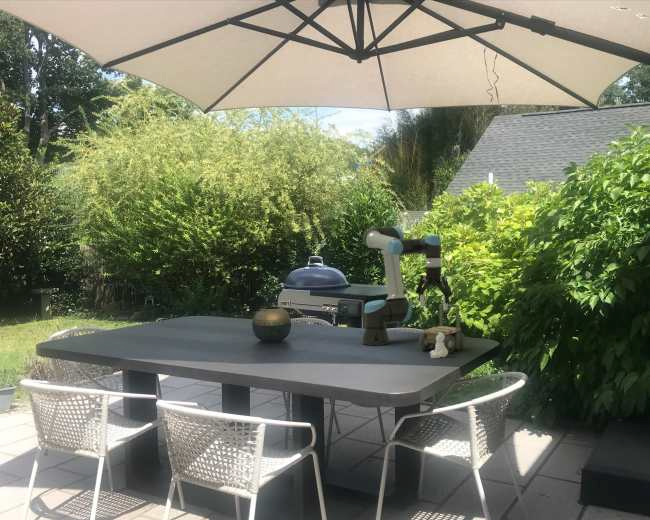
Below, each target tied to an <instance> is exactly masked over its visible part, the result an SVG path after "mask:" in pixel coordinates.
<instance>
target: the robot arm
mask: <svg viewBox="0 0 650 520" xmlns="http://www.w3.org/2000/svg"><path fill="white" fill-rule="evenodd" d="M362 241H363V244H364V245H365V246H367V247H368V248H371V249H380V252H381V254H383V262H384V270H385V279H386V288H387V297H386V299H377V300H372V301H368V302H366V303H365V305H364V332H363V337H362V341H361V342H362V343H363V344H362V345H364V344H367V345H366V346H372V345H377V346H386V345H389V344H390V343H391V340H390V336H389V332H388V330H387V324H395V323H404V322H408V321H409V320H410V319H411V317H412V312H413V307H412V303H411V302H410V301H409V300H408V299H407V296H405V295H404V288H403V279H402V272H401V262H400V255H412V254H413V255H415V254H417V255H420V254H425V266H426V267H425V274H426V275H424V274H422V275H420V278H419V279H420V280H419V281H418V284H417V287H416V289H415V294H417V295H418V301H419V308H420V309H423V308H425V294H424V293H425V292H426V291H427V289H428V288H429V286H436V287H437V288H438V289H439V290H440V292H441V293H442V295H443V297H442V304H443V311H447V310H448V308H449V307H448V304H449V302H450V297H451V296H453V292H452V290H451V288H450V284H449V282H448V277H447V276H441V275H442V267H441V266H442V258H441V257H442V241H441V236H440V235H438V234H436V235H435V234H428V235H427V234H426V235H425V238H422V237H421V238H410V239H409V238H408V239H405V236H404V233H403V231H402V229H401V228H400V227H398V226H378V227H376V226H375V227H370V228H367V230H366V231H365V232H364V233H363V235H362ZM425 280H426V281H425ZM385 344H386V345H385Z"/></svg>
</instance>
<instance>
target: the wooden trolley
mask: <svg viewBox="0 0 650 520" xmlns="http://www.w3.org/2000/svg"><path fill="white" fill-rule="evenodd" d="M448 308H455V316H456V317H455V321H456V326H455V327H454V326H446V325H445V326H444V317H443V316H444V314H443V313H444V312H443V311H444V310H443V303H440V304H439V309H438V310H439V326H435V327H429V328H427V329H424V330H423V332H422V333H421V334H420V335H419V336H420V337H419V340H418V344H419V347H420V350H422V351H428V350H429V349H430V348H431V347H433V348H435V345H436V342H437V340H436V336H437V335H438V334H439V332H441V333H443V334H444V335H445V338H444V340H443V343H444V345H445V347H446V349H447V350H448V354H452V353H453V352H454V350H457V351H462V350H463V349H464V347H465V344H466V336H465V334H464V333H463V332H461V326H460V305H459V304H452V303H451V304H449V303H448ZM461 349H462V350H461Z"/></svg>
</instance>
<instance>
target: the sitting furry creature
mask: <svg viewBox="0 0 650 520" xmlns="http://www.w3.org/2000/svg"><path fill="white" fill-rule="evenodd" d="M444 338H445V335H444V334H443V333H441V332H439V334H438V335H437V336H436V340H437V342H436V345H435V347H434V349H433V350H431V351H429V355H430V358H431V359H439V358H440V357H442V358H445V357H447V356H448V354H449V353H448V350H447V349H446V347H445V345H444V343H443V340H444Z"/></svg>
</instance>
